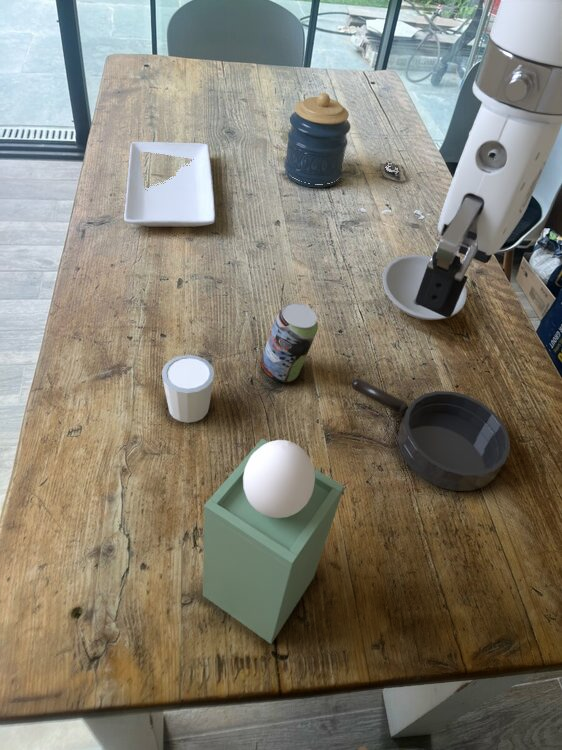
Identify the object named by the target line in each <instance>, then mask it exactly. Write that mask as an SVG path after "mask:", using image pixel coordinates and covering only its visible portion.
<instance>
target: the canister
mask: <svg viewBox="0 0 562 750" xmlns="http://www.w3.org/2000/svg"><path fill="white" fill-rule="evenodd" d="M349 117H350V115H349V111H348V110H347V109H346V108H345V107H344V106H343V104H342V103H340V102H339V101H337V100H335V99H332V98H330V95H329V94H328V93H326V92H321V93H320V94H319V95H317V96H311V97H307V98H305V99H303V100H301V101H299V102H298V103H296V105H295V106H294V112H292V114H290V116H289V124H290V125H291V127H290V129H289V130H288V133H287V138H288V139H287V145H286V156H285V158H284V173H285V175H286V177H287V178H289V180H291V182H294V183H295V184H298V185H300V186H304V187H309V188H315V189H316V188H318V189H319V188H320V189H321V188H328V187H331V186H334V185H336V184H337V183H338V182H339V180H340V178H341V176H342V173H343V170H344V169H343V165H344V159H345V154H346V148H347V146H348V138H347V134H348V133H349V132H350V131H351V123H350V121H349V120H348V119H349ZM285 169H286V170H285ZM286 171H287V172H286ZM289 174H290V175H291V176H292V177H294V178H296V179H298V180H300V181H298V180H296V179H294V178H292V177H291V176H290V175H289ZM339 177H340V178H339ZM338 178H339V179H338ZM337 179H338V180H337ZM336 180H337V181H336ZM301 181H302V182H301ZM334 181H335V182H334ZM304 182H306V183H304ZM331 182H333V183H331ZM308 183H310V184H308ZM327 183H330V184H327ZM315 184H323V185H315Z"/></svg>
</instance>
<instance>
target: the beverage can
mask: <svg viewBox="0 0 562 750" xmlns="http://www.w3.org/2000/svg"><path fill="white" fill-rule="evenodd" d="M318 328H319V323H318V317H317V314H316V312H315V311H314V310H313V309H312V308H311V307H310V306H308V305H306V304H303V303H299V302H291V303H290V302H289V303H288V304H286V305H285V306H284V307H283V308H281V309H280V310H279V311H278V312H277V313H276V316H275V319H274V322H273V325H272V327H271V330H270V333H269V335H268V339H267V342H266V345H265V348H264V350H263V353H262V356H261V359H260V368H261V370H262V372H263V373H264V374H265V375H266V376H267V377H268V378H270V379H271V380H273V381H275V382H278V383H279V382H280V383H289V382H292V381H294V380H296V379H297V378H298V376H299V375H300V372H301V371H302V370H301V369H302V367H303V366H304V363H305V361H306V358H307V356H308V353H309V352H310V349H311V347H312V344H313V342H314V340H315V337H316V335H317V333H318V330H319V329H318Z"/></svg>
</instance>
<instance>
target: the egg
mask: <svg viewBox="0 0 562 750" xmlns="http://www.w3.org/2000/svg"><path fill="white" fill-rule="evenodd" d="M314 469H315V468H314V465H313V462H312V460H311V458H310V457H309V455H308V454H307V452H306V451H305V450H304V449H303V448H302V447H300V445H298V444H296V443H294V442H293V441H290V440H286V439H276V440H272V441H268V443H266V444H264V445H262V446H261V447H260V448H259V449H257V450H256V451H255V452H254V453H253V454H252V455H251V457H250V459H249V461H248V463H247V465H246V467H245V470H244V475H243V486H244V491H245V494H246V497H247V499H248V501H249V502H250V504H251V505H252V506H253V507H254V508H255V509H256V510H257V511H258V512H260V513H261V514H263V515H265V516H268V517H273V518H284V517H289V516H291V515H294V514H296V513H297V512H299V511H300V510H301V509H302V508H303V507H304V506H305V505H306V504H307V503H308V501H309V499H310V497H311V495H312V492H313V488H314V483H315V475H314Z"/></svg>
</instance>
